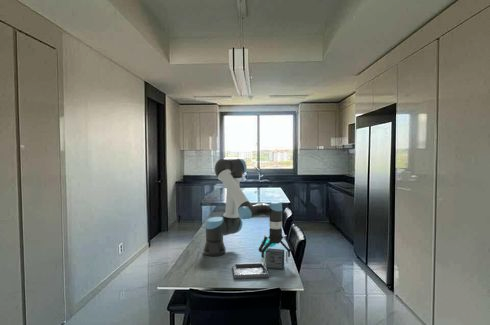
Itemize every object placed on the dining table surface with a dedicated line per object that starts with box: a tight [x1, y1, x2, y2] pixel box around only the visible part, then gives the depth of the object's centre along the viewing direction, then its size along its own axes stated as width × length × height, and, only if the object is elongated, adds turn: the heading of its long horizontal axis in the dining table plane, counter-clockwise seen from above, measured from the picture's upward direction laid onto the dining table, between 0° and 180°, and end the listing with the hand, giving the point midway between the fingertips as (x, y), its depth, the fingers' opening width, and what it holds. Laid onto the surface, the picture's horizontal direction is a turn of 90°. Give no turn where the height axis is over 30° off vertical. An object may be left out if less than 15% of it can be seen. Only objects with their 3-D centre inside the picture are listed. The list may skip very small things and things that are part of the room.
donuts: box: [261, 238, 277, 258], centre depth 214 cm, size 10×10×10 cm
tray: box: [232, 261, 270, 280], centre depth 185 cm, size 19×17×2 cm
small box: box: [265, 247, 285, 271], centre depth 193 cm, size 11×6×10 cm, turn 74°
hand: (275, 262), depth 193 cm, fingers open, 13 cm apart
